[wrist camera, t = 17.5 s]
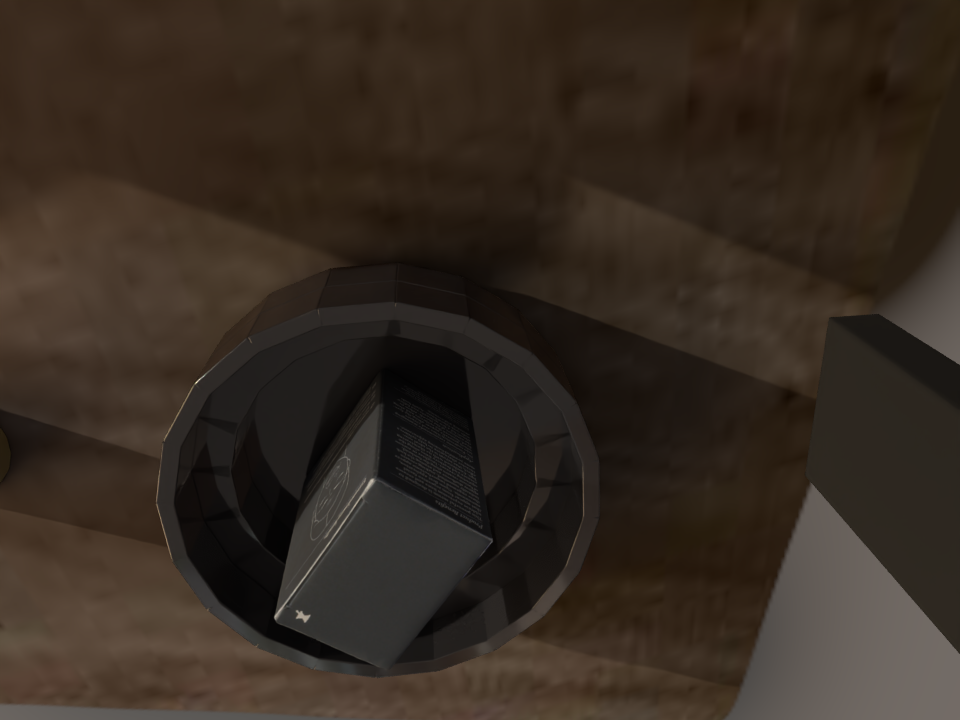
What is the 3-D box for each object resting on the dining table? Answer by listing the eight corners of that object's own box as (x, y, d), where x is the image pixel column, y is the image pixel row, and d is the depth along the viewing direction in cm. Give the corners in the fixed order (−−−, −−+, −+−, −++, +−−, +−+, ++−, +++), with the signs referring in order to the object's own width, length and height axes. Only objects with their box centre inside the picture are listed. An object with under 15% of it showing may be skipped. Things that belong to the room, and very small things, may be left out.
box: (394, 526, 42) (388, 676, 32) (302, 478, 40) (266, 621, 31) (477, 417, 40) (497, 543, 30) (383, 362, 38) (371, 477, 28)
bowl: (236, 606, 44) (208, 696, 38) (157, 277, 36) (106, 326, 30) (576, 571, 45) (600, 654, 39) (569, 242, 37) (599, 283, 31)
